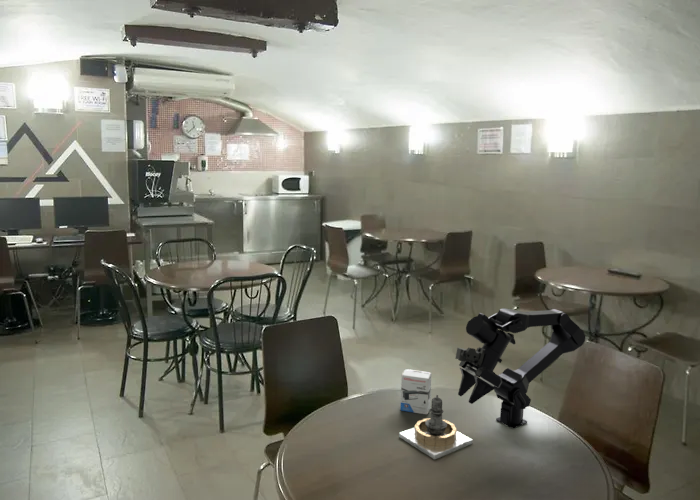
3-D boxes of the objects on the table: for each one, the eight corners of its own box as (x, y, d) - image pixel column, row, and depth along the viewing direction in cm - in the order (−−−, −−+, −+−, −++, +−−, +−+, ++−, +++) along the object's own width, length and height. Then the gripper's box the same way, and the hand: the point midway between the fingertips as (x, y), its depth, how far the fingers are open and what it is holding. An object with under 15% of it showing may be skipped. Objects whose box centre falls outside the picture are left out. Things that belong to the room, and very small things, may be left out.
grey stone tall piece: (438, 443, 146) (440, 401, 144) (420, 436, 150) (421, 394, 148) (450, 435, 151) (452, 394, 149) (432, 428, 155) (434, 388, 153)
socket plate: (435, 423, 160) (436, 411, 160) (472, 443, 149) (472, 431, 148) (398, 436, 152) (399, 424, 152) (434, 459, 141) (434, 446, 140)
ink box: (399, 411, 168) (400, 374, 166) (403, 404, 172) (404, 368, 170) (427, 415, 165) (428, 378, 163) (430, 408, 170) (431, 371, 168)
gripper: (458, 332, 163) (431, 378, 161) (480, 339, 144) (450, 391, 143) (489, 351, 163) (463, 397, 162) (515, 361, 145) (485, 413, 143)
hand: (464, 399), depth 152 cm, fingers open, 9 cm apart
